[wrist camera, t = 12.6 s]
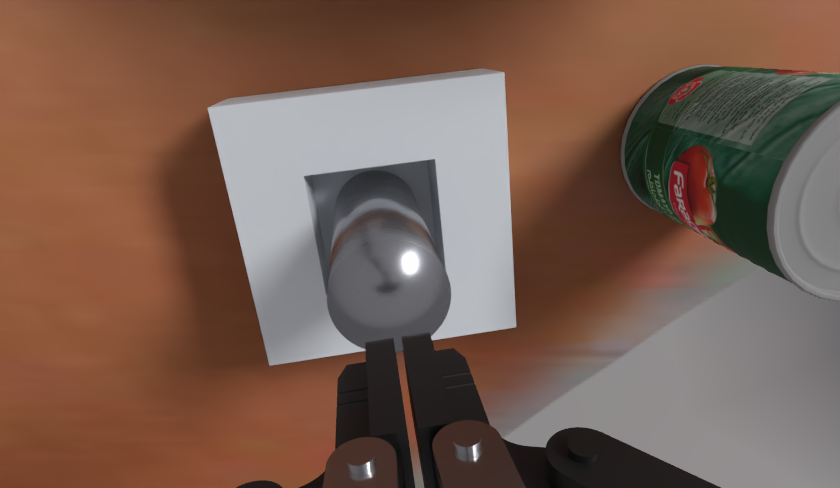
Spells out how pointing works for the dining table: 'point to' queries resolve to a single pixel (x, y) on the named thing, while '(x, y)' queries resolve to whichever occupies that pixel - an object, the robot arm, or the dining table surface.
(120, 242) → the dining table surface
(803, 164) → the canned tomato
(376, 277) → the shiny steel cylinder
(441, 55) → the dining table surface
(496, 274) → the jig
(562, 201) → the dining table surface
